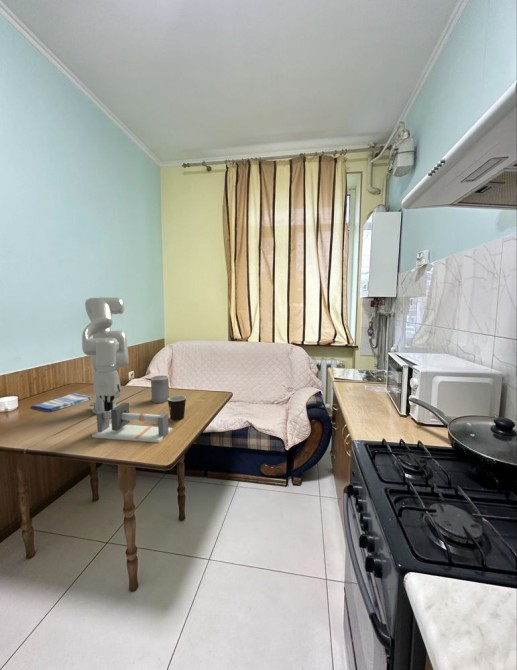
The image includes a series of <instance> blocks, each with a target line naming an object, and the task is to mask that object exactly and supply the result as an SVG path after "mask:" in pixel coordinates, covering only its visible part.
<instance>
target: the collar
mask: <svg viewBox="0 0 517 670" xmlns="http://www.w3.org/2000/svg"><path fill="white" fill-rule="evenodd" d="M117 405H118V406H117V407H115V408H113V409H111V419H110V420H111V424H112V430H115V431H118V430H119V429H121V428H122V427H124V426H125V425H129V423H130V421H131V420H121V416H120V413H130V403H129V402H121V404H117Z"/></svg>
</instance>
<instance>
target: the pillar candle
mask: <svg viewBox="0 0 517 670" xmlns="http://www.w3.org/2000/svg"><path fill="white" fill-rule="evenodd" d="M169 382H170V381H169V376H168V375H156V376H152V377H151V378H150V386H151V390H150V391H151V402H152V403H153V404H160V403H161V404H162V403H168V398H169V397H170V387H169V386H170V385H169Z"/></svg>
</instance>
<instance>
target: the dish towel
mask: <svg viewBox="0 0 517 670" xmlns="http://www.w3.org/2000/svg"><path fill="white" fill-rule="evenodd" d="M90 400H92V396H90V395H85V394H78V393H77V392H76V393H75V392H73V393H69V394H68V395H65V396H61V397H58V398H55V399H51V400H47V401H43V402H42V403H37V404H33V405H31V406H30V408H32V409H34V408H35V410H39V411H44V412H48V413H52V412H55V411H58V410H62V409H66V408H68V407H71V406H75V405H79V404H81V403H84V402H87V401H90Z"/></svg>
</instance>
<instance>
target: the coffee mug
mask: <svg viewBox="0 0 517 670" xmlns="http://www.w3.org/2000/svg"><path fill="white" fill-rule="evenodd" d="M186 401H187V397H186V396H185V395H173V396H169V398H168V401H167V403H168V411H169V415H170V420H171V421H175V422H176V421H182V420H184V419H185V413H186Z"/></svg>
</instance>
